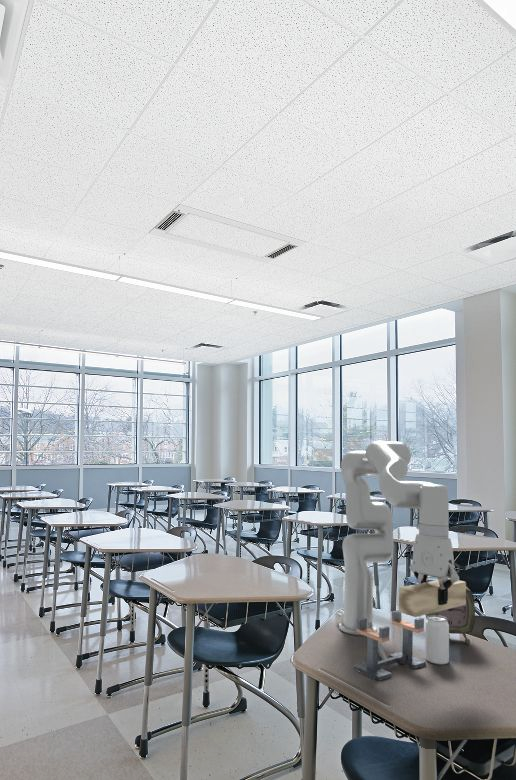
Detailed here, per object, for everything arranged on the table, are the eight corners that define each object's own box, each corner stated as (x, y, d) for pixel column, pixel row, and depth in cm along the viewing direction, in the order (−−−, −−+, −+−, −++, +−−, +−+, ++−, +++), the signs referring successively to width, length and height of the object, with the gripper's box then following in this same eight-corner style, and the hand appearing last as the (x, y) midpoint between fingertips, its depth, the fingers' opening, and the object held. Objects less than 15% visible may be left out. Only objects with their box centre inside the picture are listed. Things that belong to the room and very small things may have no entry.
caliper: (366, 640, 171) (367, 620, 172) (370, 640, 171) (370, 620, 172) (385, 666, 151) (386, 643, 152) (389, 666, 151) (389, 643, 152)
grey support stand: (353, 669, 147) (354, 619, 149) (400, 655, 159) (400, 609, 161) (378, 681, 140) (379, 629, 142) (425, 665, 152) (426, 617, 153)
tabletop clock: (427, 642, 171) (428, 562, 174) (423, 633, 180) (423, 556, 183) (475, 646, 169) (474, 565, 172) (468, 637, 178) (468, 559, 181)
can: (450, 666, 152) (450, 622, 153) (426, 663, 153) (426, 620, 155) (447, 658, 158) (447, 615, 160) (424, 655, 160) (424, 613, 161)
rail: (398, 611, 136) (398, 587, 137) (449, 600, 149) (449, 577, 150) (415, 617, 132) (415, 592, 133) (465, 604, 145) (465, 581, 146)
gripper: (398, 527, 148) (398, 595, 146) (453, 536, 134) (453, 612, 132) (415, 525, 152) (415, 592, 150) (470, 535, 138) (470, 608, 136)
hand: (433, 600), depth 141 cm, fingers closed on rail, 5 cm apart
